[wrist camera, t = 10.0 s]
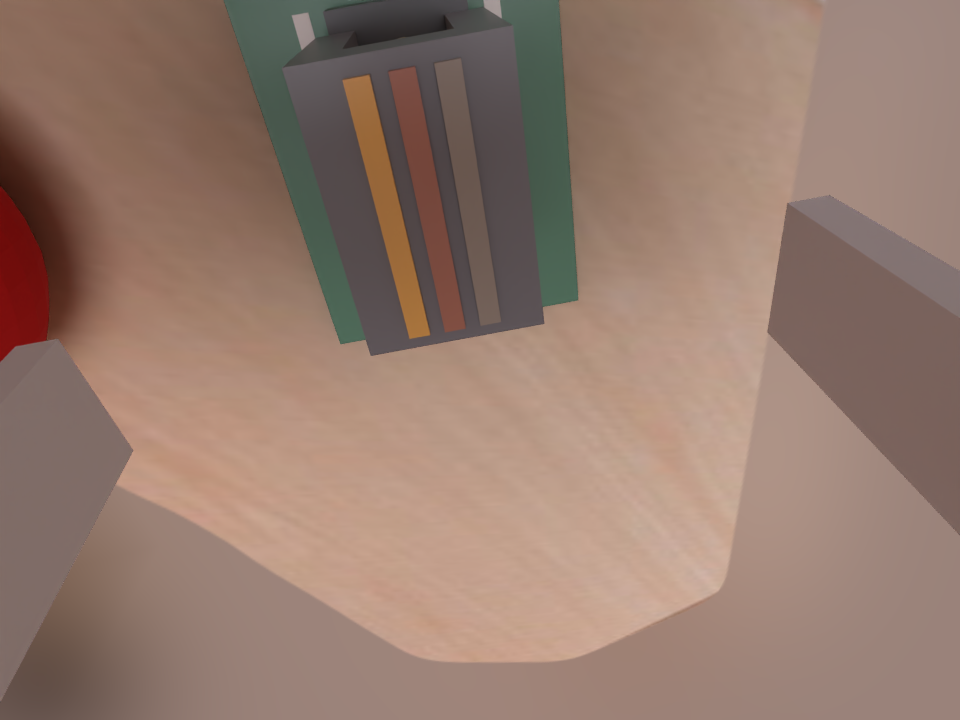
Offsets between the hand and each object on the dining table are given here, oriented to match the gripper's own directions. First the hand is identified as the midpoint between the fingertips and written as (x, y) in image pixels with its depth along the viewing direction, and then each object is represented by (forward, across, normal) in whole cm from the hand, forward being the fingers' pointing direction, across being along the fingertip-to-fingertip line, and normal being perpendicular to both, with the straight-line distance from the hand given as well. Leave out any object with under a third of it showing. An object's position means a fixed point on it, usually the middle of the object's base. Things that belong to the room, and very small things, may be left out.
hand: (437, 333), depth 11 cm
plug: (+15, 0, -1) cm, 15 cm away
